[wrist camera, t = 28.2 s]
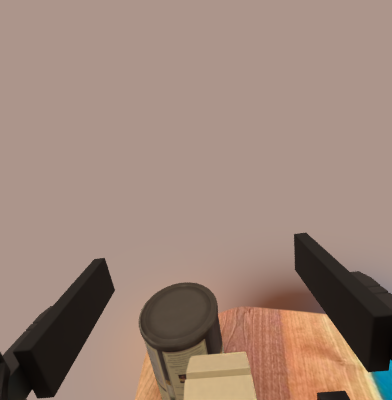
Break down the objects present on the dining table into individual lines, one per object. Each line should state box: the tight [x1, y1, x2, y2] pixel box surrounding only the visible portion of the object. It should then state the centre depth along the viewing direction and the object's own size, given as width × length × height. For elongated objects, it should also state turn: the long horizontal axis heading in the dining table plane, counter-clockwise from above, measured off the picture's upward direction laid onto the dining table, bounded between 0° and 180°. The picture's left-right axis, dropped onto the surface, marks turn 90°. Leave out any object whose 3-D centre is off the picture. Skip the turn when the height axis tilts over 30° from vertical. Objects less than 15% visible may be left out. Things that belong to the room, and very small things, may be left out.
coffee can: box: [139, 283, 224, 400], centre depth 29 cm, size 10×10×14 cm
